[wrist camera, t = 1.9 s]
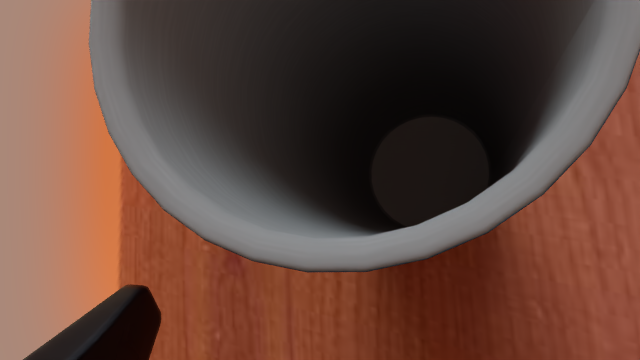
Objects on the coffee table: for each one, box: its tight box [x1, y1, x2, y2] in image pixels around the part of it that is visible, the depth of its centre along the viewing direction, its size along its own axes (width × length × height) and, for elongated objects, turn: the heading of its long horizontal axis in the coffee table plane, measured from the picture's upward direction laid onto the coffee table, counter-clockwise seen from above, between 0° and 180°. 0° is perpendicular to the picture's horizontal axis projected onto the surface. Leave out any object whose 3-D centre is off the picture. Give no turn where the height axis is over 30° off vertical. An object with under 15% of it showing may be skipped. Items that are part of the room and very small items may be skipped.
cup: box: [89, 0, 640, 272], centre depth 13 cm, size 7×7×15 cm
